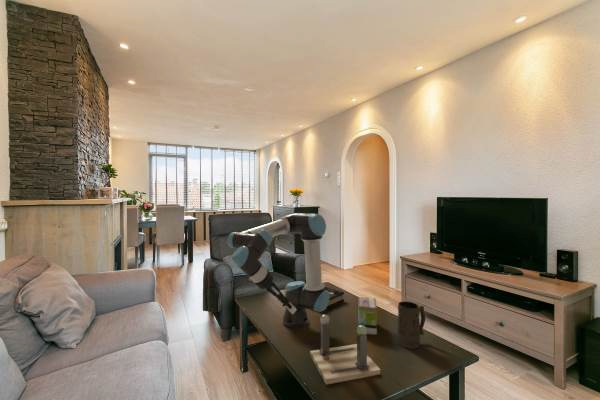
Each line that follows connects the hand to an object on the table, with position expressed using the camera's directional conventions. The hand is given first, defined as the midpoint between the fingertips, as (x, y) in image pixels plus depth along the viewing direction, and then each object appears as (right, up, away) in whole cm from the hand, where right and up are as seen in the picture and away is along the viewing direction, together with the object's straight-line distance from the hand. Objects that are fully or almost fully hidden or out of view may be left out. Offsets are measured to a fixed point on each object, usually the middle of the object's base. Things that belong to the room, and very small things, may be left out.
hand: (294, 311), depth 127 cm
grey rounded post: (+29, -20, -8) cm, 36 cm away
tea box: (+40, -22, +32) cm, 56 cm away
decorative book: (+19, -22, +69) cm, 74 cm away
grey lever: (+14, -20, +3) cm, 25 cm away
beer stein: (+59, -22, +16) cm, 65 cm away
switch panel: (+22, -22, -3) cm, 31 cm away
